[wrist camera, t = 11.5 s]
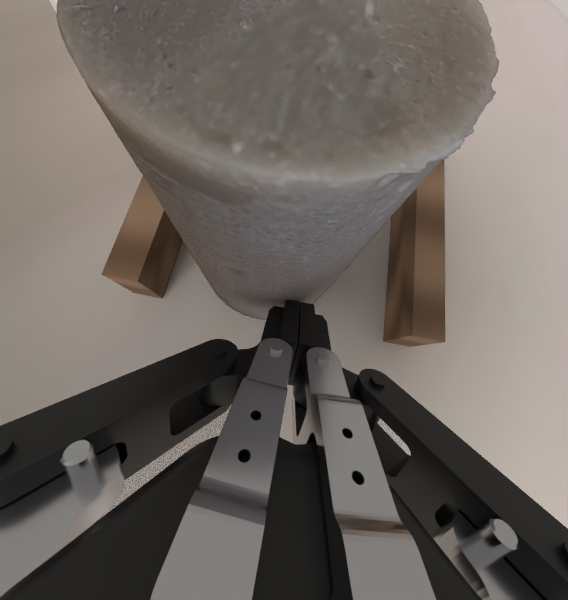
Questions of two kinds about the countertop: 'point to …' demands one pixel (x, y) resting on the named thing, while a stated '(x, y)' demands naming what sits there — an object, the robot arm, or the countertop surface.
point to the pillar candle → (283, 121)
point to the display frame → (401, 268)
